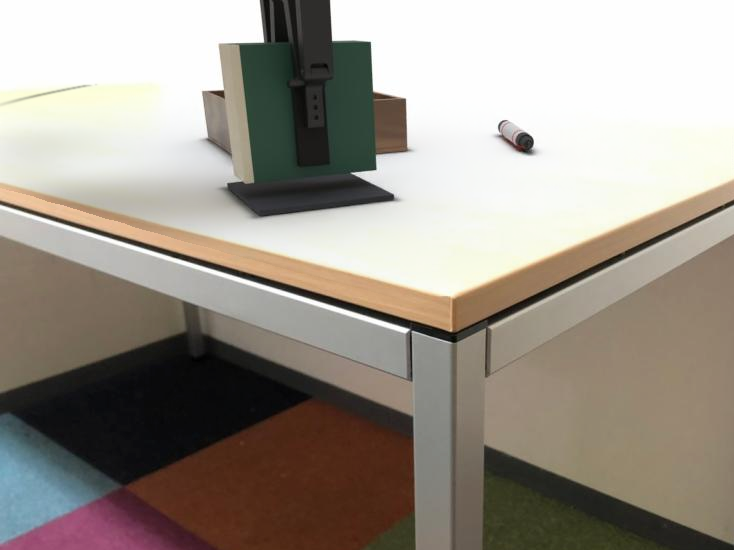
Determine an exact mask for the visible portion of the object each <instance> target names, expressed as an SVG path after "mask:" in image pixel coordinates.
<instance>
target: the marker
mask: <svg viewBox="0 0 734 550" xmlns="http://www.w3.org/2000/svg"><path fill="white" fill-rule="evenodd" d="M497 130H498V132H499V133H500V134H501V136H503V137H504V138H505V139H507V140H508V141H509V142H511V143H512V144H513V145H514V146H515V147H517V148H518V149H520V150H521V151H525V152H528V151H530V150H531V149H533V147H534V145H535V140H534V138H533V137H534V136H532V135H531V134H529V133H528V132H527V131H525V130H524V129H522V128H521V127H519V126H518V125H516V124H515V123H513V122H512V121H510V120H508V119H503V120H500V122H499V123H498V125H497Z"/></svg>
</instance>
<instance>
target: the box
mask: <svg viewBox="0 0 734 550" xmlns="http://www.w3.org/2000/svg"><path fill="white" fill-rule="evenodd" d="M201 94H202V95H201V96H202V102H203V110H204V118H205V126H206V133H207V134H206V135H207V139H208V140H209V141H211V142H212V143H214V145H217V146H218V147H220V148H221V149H223V150H224V151H226V152H227V153H229V155H231V156H232V152H231V144H230V136H229V127H228V119H227V111H226V103H225V94H224V89H217V90H215V89H213V90H201ZM373 99H374V121H375V144H376V155H377V154H387V153H398V152H408V119H407V117H408V115H407V98H406V97H401V96H397V95H393V94H388V93H384V92H380V91H375V90H373Z"/></svg>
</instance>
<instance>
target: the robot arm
mask: <svg viewBox="0 0 734 550" xmlns="http://www.w3.org/2000/svg"><path fill="white" fill-rule="evenodd" d="M259 8H260V16H261V18H260V19H261V26H262V35H263V36H262V37H263V42H289V45H290V52H291V59H292V66H293V73H294V79H290V80H288V81H286V85H287V87H288V88H291V94H292V106H293V117H294V129H295V140H296V152H297V163H298V166H299V167H309V166H320V165H330V156H329V142H328V127H327V113H326V99H325V87H324V86H326V85H327V80H333V78H334V64H333V45H332V41H333V29H332V27H333V26H332V10H331V9H332V7H331V0H259Z"/></svg>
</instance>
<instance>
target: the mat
mask: <svg viewBox="0 0 734 550" xmlns="http://www.w3.org/2000/svg"><path fill="white" fill-rule="evenodd" d="M226 188H227V189H228V190H229V191H230V192H231V193H232V194H234V195H235V196H236V197H238V199H240V200H241V202H243V203H244V204H246V206H248V207H249V208H250V209H251V210H252V211H253V212H255V213H256V214H257V215H258V216H260V217H263V216H271V215H279V214H280V215H281V214H287V213H296V212H304V211H313V210H321V209H328V208H329V209H331V208H338V207H344V206H345V207H346V206H347V207H348V206H354V205H362V204H369V203H377V202H386V201H394V200H395V194H394V193H392V192H390V191H388V190H386V189H384V188H383V187H380V186H378V185H376V184H374V183H372V182H370V181H368V180H366V179H363V178H362V177H359V176H357V175H356V174H354V173H345V174H335V175H326V176H316V177H306V178H297V179H287V180H277V181H268V182H258V183H249V184H245V183H244V182H242V181H241V180H240V181H233V182H227V183H226Z"/></svg>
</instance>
